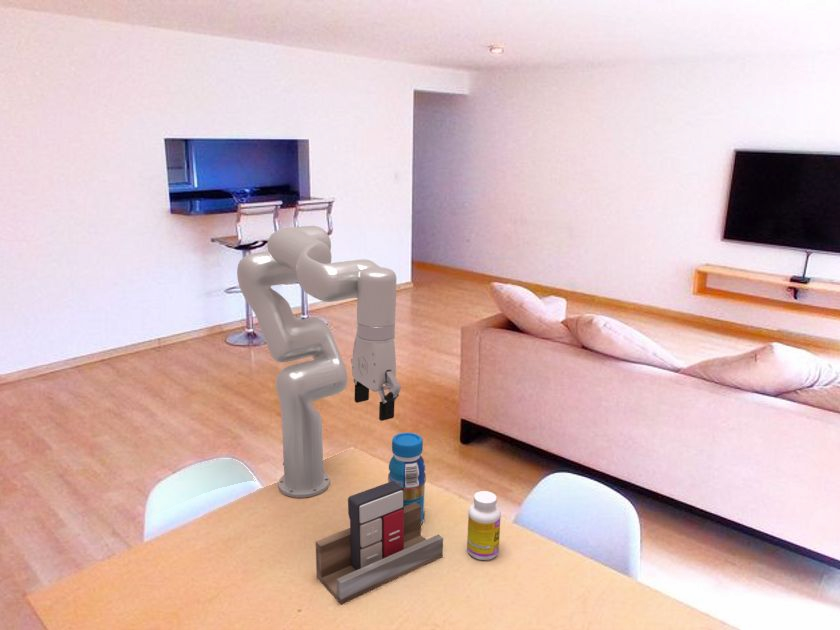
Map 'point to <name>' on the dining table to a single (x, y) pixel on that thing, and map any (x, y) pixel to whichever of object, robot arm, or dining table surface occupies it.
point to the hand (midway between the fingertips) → (373, 409)
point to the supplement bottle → (483, 526)
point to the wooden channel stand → (353, 583)
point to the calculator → (376, 524)
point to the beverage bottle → (409, 468)
